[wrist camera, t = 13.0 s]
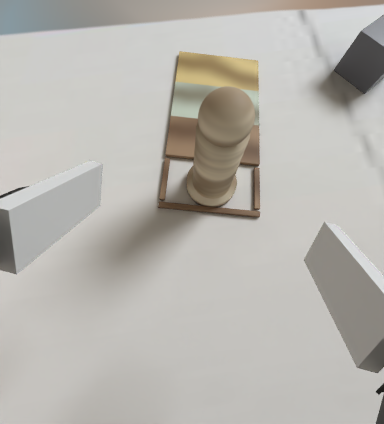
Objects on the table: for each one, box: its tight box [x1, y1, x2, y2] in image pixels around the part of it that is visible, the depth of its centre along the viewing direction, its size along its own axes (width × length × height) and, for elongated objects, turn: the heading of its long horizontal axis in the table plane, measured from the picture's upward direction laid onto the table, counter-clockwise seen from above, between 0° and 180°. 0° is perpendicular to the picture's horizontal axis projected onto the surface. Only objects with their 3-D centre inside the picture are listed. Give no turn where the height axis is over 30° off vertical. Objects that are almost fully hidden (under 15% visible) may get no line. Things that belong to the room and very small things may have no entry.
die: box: [334, 15, 384, 94], centre depth 35 cm, size 6×6×6 cm
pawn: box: [187, 86, 255, 207], centre depth 23 cm, size 6×6×14 cm
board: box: [158, 51, 260, 217], centre depth 32 cm, size 25×12×1 cm, turn 175°
